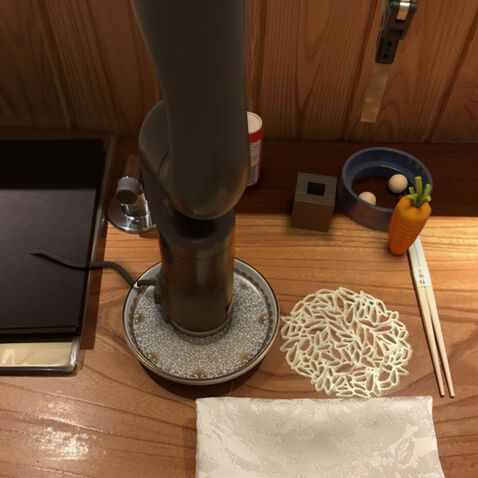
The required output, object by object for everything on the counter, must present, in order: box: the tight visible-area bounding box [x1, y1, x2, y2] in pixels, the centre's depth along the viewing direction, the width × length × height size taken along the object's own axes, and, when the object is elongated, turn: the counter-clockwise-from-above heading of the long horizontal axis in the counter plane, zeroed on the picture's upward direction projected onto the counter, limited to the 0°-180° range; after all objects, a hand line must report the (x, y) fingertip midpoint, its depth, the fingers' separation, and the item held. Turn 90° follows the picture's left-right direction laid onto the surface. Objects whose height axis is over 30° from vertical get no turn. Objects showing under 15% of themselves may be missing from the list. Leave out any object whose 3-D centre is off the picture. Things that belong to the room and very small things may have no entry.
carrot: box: [387, 177, 432, 256], centre depth 81 cm, size 5×5×15 cm
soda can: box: [246, 111, 264, 188], centre depth 90 cm, size 6×6×12 cm
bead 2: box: [388, 174, 407, 194], centre depth 92 cm, size 3×3×3 cm
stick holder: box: [289, 171, 338, 234], centre depth 88 cm, size 6×6×7 cm
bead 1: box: [358, 191, 377, 206], centre depth 90 cm, size 3×3×3 cm
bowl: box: [336, 146, 434, 233], centre depth 91 cm, size 14×14×6 cm
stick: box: [360, 17, 392, 123], centre depth 70 cm, size 2×2×14 cm
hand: (383, 55), depth 69 cm, fingers closed on stick, 2 cm apart
